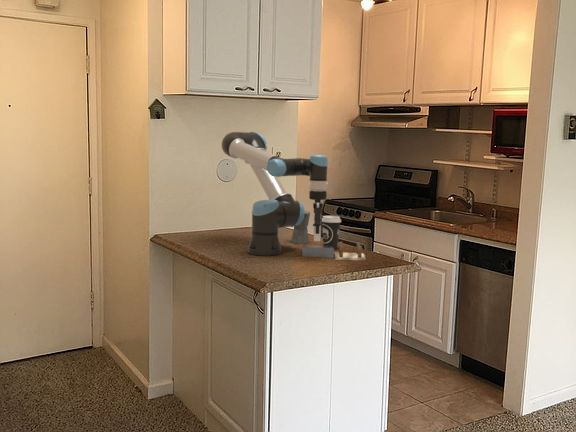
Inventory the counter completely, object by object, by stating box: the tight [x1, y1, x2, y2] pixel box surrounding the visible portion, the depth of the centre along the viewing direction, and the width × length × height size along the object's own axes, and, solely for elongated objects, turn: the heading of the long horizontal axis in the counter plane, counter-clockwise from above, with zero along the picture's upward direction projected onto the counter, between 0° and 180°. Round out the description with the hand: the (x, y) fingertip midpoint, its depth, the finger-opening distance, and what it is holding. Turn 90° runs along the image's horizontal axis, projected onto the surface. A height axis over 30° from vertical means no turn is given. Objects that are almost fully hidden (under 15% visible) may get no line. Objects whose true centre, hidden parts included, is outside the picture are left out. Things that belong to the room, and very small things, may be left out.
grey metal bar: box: [301, 244, 335, 259], centre depth 274 cm, size 14×5×4 cm, turn 88°
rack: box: [334, 241, 366, 262], centre depth 273 cm, size 13×11×6 cm
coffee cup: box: [321, 215, 342, 250], centre depth 292 cm, size 10×10×15 cm
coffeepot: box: [291, 210, 311, 245], centre depth 307 cm, size 15×9×18 cm, turn 25°
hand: (316, 238), depth 273 cm, fingers open, 13 cm apart
